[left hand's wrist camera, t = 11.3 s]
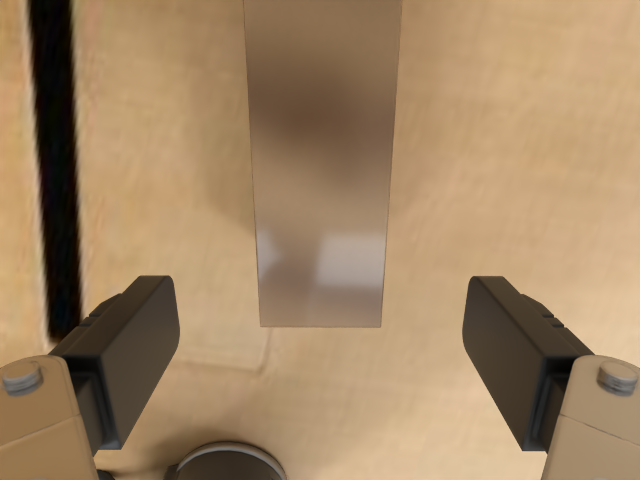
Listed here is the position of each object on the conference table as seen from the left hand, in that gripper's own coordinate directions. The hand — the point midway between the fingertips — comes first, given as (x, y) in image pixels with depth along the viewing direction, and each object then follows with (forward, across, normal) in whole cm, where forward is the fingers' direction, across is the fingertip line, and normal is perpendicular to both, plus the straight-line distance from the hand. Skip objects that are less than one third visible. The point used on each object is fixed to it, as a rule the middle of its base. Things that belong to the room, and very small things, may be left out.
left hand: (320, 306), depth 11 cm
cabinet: (+15, 0, -5) cm, 16 cm away
